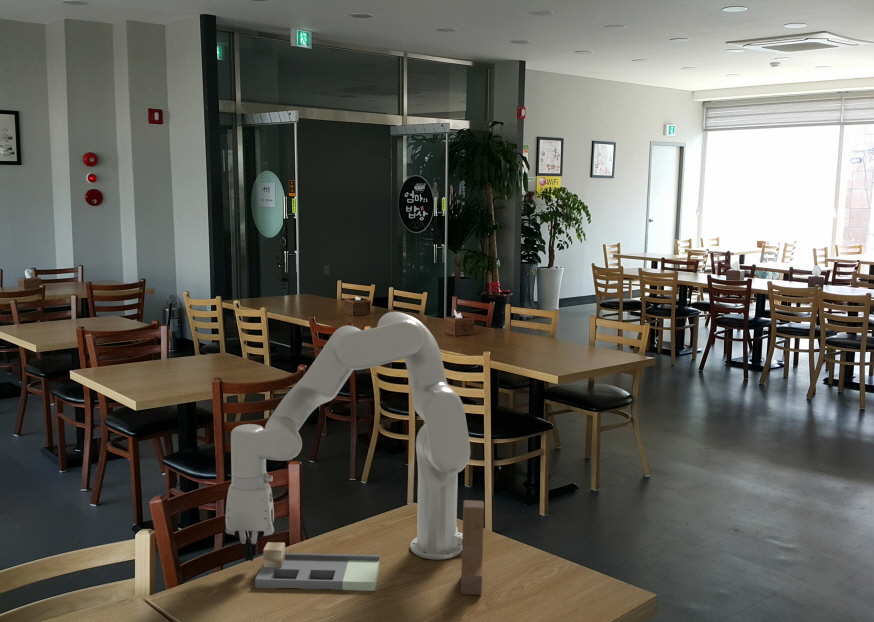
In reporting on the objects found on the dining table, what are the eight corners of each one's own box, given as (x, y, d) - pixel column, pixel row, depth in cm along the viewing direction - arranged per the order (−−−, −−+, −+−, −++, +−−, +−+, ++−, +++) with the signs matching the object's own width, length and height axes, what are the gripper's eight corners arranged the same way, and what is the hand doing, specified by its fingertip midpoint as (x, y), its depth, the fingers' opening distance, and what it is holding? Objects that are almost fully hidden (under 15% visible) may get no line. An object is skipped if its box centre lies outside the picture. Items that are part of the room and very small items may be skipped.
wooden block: (481, 595, 171) (483, 516, 169) (460, 595, 172) (462, 515, 169) (481, 576, 180) (483, 500, 178) (461, 575, 181) (463, 499, 178)
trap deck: (379, 567, 184) (379, 555, 183) (374, 590, 173) (375, 577, 172) (266, 564, 184) (266, 552, 183) (255, 587, 173) (255, 574, 173)
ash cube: (285, 559, 182) (284, 542, 182) (281, 567, 178) (281, 550, 178) (267, 558, 182) (267, 542, 182) (263, 566, 179) (263, 550, 178)
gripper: (285, 475, 181) (286, 551, 184) (220, 473, 182) (222, 550, 184) (278, 487, 174) (279, 566, 177) (210, 485, 174) (212, 565, 177)
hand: (250, 558), depth 180 cm, fingers closed
